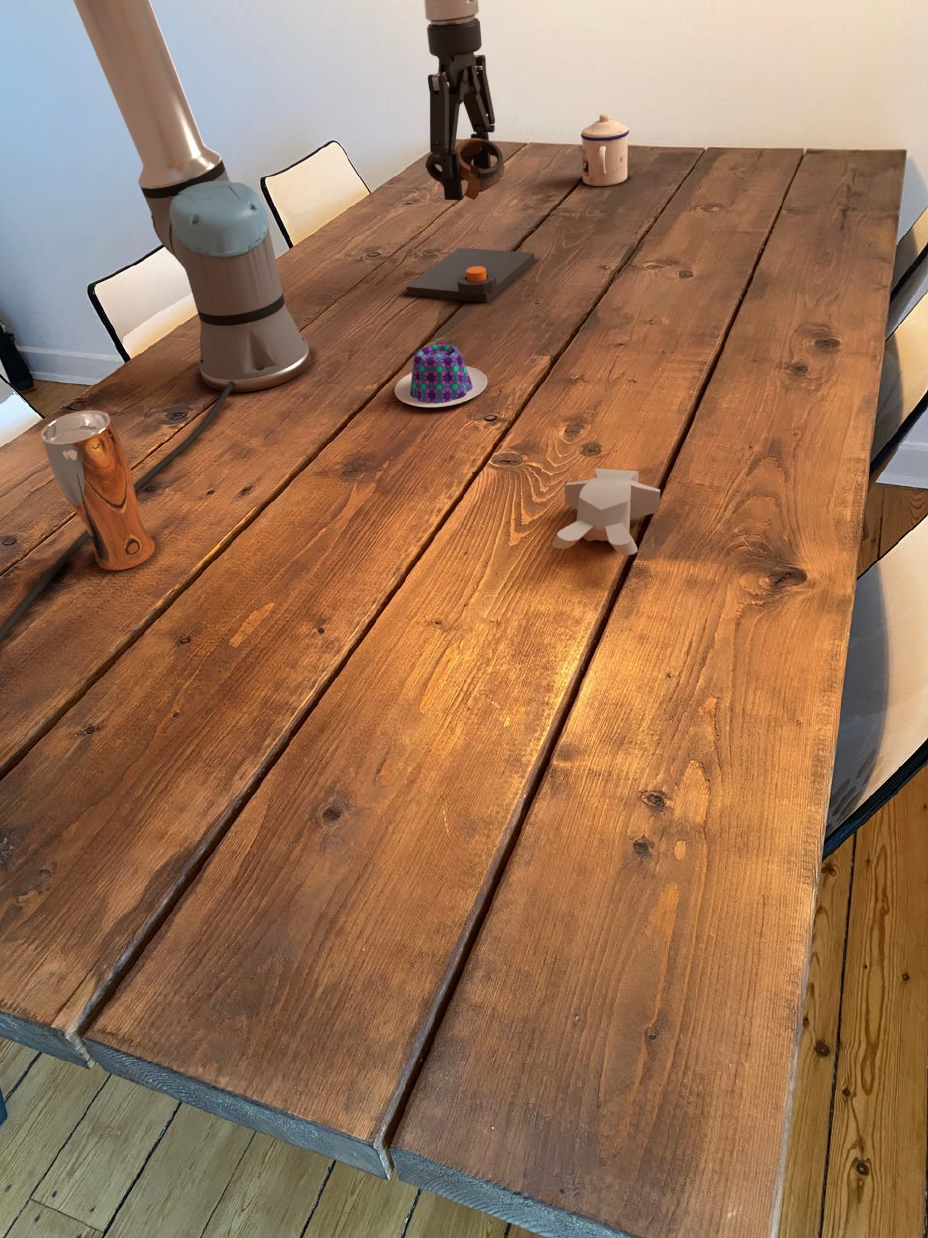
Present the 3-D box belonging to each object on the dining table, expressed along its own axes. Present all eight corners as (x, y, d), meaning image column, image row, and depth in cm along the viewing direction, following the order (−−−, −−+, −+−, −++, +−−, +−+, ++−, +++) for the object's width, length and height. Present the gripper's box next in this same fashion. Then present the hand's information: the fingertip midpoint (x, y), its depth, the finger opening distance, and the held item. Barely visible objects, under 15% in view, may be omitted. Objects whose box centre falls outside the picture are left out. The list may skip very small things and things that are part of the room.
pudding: (497, 371, 125) (494, 332, 121) (474, 414, 116) (470, 374, 113) (411, 368, 128) (406, 331, 125) (382, 410, 119) (375, 371, 116)
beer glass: (134, 527, 103) (86, 402, 94) (172, 547, 100) (126, 419, 90) (79, 560, 100) (23, 433, 90) (117, 581, 96) (63, 451, 86)
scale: (487, 305, 142) (485, 285, 140) (404, 297, 148) (401, 278, 146) (537, 261, 155) (536, 242, 153) (459, 255, 161) (457, 237, 159)
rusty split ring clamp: (498, 179, 151) (508, 135, 143) (497, 224, 147) (507, 181, 139) (423, 168, 149) (429, 123, 142) (420, 213, 145) (426, 169, 138)
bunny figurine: (667, 459, 96) (645, 527, 84) (664, 504, 99) (643, 576, 87) (574, 453, 99) (541, 518, 87) (574, 497, 101) (542, 567, 89)
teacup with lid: (584, 174, 190) (583, 110, 183) (630, 172, 188) (630, 107, 181) (577, 192, 182) (576, 125, 174) (625, 190, 180) (626, 122, 172)
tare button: (481, 284, 142) (480, 273, 141) (463, 282, 143) (462, 272, 142) (489, 276, 144) (489, 266, 143) (472, 275, 145) (471, 265, 144)
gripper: (439, 34, 123) (457, 213, 138) (510, 4, 138) (520, 168, 152) (390, 36, 126) (413, 210, 141) (464, 6, 141) (478, 167, 155)
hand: (468, 188), depth 146 cm, fingers closed on rusty split ring clamp, 9 cm apart
